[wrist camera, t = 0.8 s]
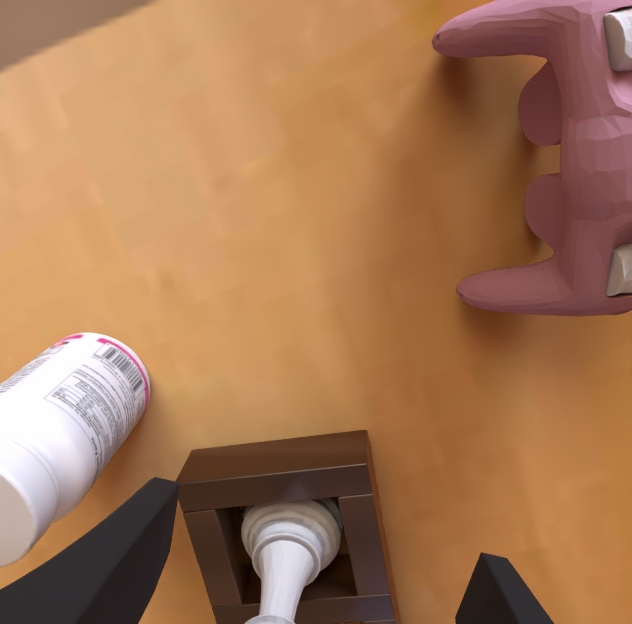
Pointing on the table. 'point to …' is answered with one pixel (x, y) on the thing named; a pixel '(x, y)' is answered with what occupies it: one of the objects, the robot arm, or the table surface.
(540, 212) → the video game controller
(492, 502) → the table surface
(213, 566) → the stand
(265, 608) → the chess piece
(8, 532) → the pill bottle
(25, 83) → the table surface
